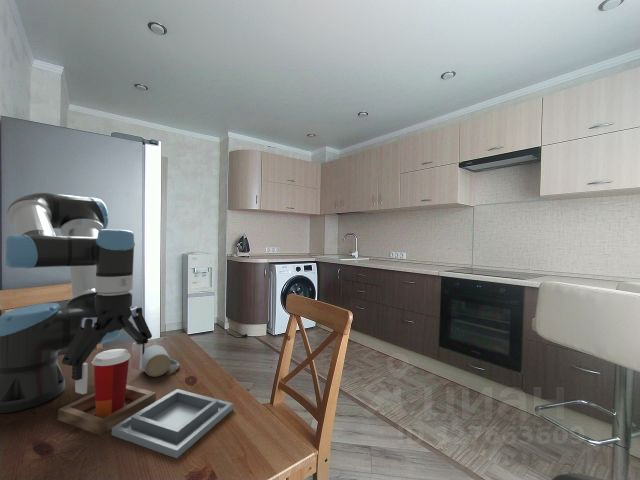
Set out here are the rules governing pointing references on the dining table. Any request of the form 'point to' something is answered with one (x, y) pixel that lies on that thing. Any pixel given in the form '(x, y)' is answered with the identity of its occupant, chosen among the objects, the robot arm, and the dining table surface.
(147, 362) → the ceramic mug
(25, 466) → the dining table surface
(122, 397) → the paper cup
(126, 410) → the walnut collar
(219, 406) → the grey tray
